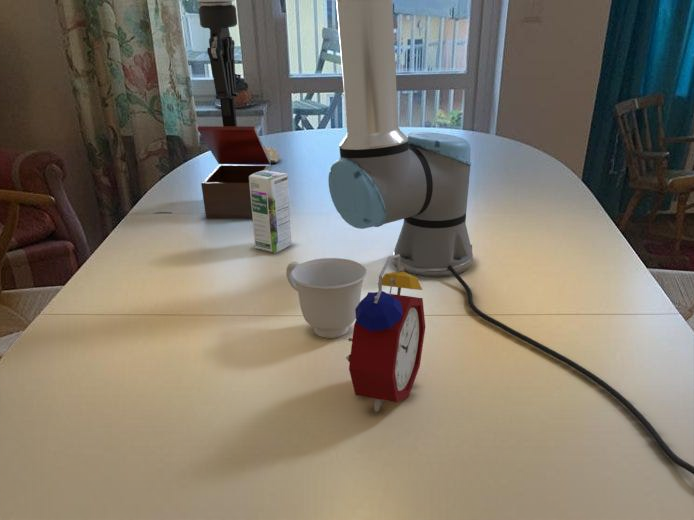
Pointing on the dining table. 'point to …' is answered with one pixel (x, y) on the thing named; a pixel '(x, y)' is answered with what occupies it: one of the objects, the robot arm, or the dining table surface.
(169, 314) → the dining table surface
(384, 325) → the alarm clock
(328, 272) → the teacup
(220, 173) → the chest
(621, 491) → the dining table surface
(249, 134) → the lid
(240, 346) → the dining table surface
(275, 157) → the stone
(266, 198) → the syrup box
